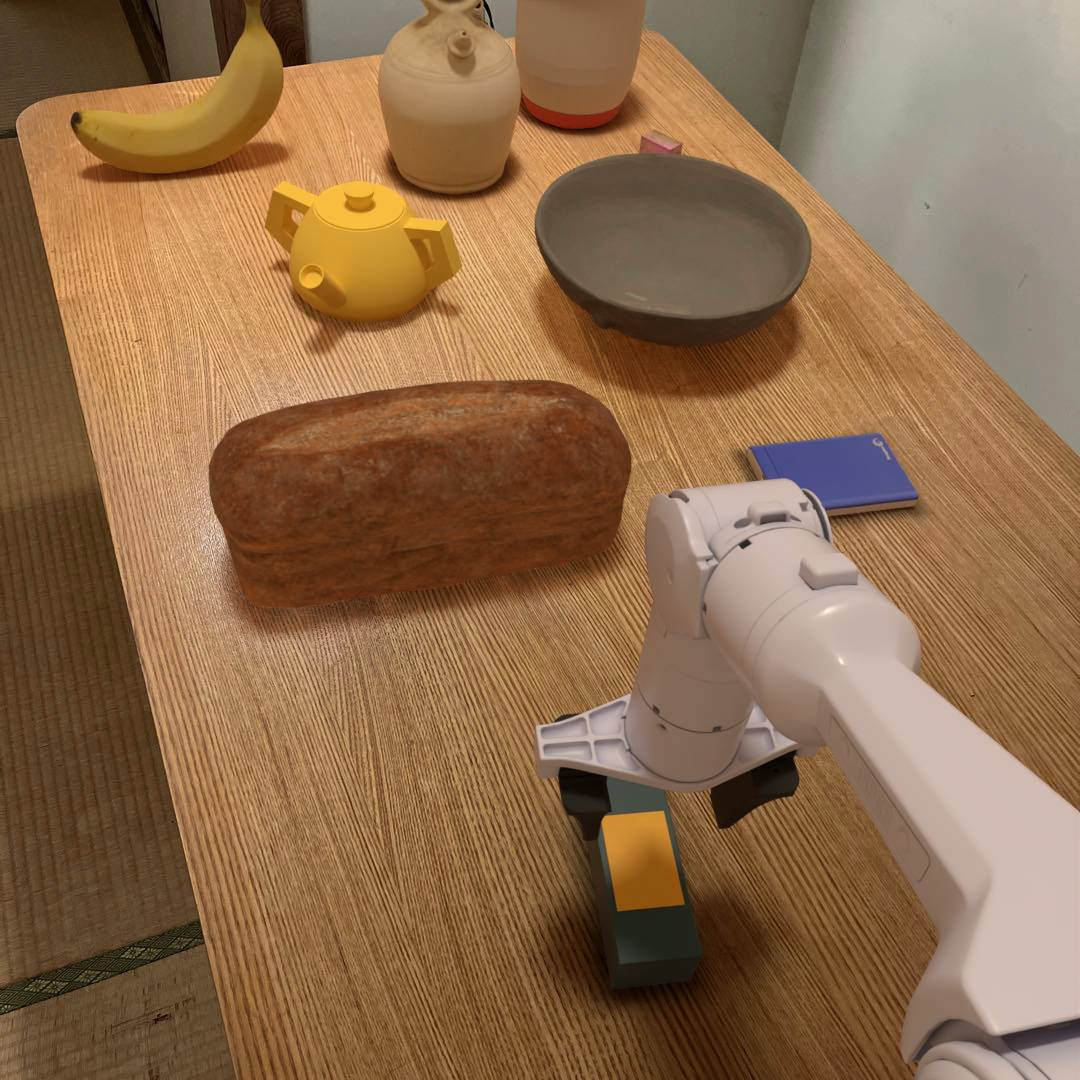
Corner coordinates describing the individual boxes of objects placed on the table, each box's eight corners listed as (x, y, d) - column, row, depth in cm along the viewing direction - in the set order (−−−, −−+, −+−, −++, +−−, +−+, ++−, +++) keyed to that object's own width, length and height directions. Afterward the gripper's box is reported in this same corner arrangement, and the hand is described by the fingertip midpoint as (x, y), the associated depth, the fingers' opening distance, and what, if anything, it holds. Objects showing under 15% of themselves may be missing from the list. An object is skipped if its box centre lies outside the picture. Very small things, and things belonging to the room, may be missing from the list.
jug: (391, 129, 129) (382, -102, 110) (519, 140, 129) (533, -88, 111) (372, 197, 119) (360, -46, 100) (512, 208, 119) (525, -31, 101)
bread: (220, 515, 86) (192, 384, 76) (588, 462, 93) (606, 336, 83) (234, 634, 78) (204, 506, 68) (633, 567, 85) (659, 441, 75)
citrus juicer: (574, 65, 144) (590, -100, 129) (658, 121, 135) (684, -50, 120) (477, 91, 137) (482, -81, 122) (558, 151, 128) (574, -26, 113)
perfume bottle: (603, 182, 124) (607, 145, 121) (666, 148, 131) (672, 112, 127) (685, 225, 119) (692, 188, 116) (747, 187, 126) (755, 151, 122)
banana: (86, 190, 116) (34, -4, 101) (82, 163, 119) (32, -28, 104) (296, 167, 122) (277, -18, 107) (287, 142, 125) (267, -41, 111)
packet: (690, 981, 64) (703, 954, 61) (611, 989, 63) (620, 963, 60) (650, 798, 72) (660, 767, 69) (579, 804, 71) (586, 773, 68)
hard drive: (879, 430, 96) (749, 443, 94) (920, 495, 91) (783, 511, 88) (874, 443, 97) (746, 457, 95) (914, 508, 92) (779, 524, 90)
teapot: (219, 327, 102) (199, 224, 93) (304, 229, 114) (293, 130, 105) (417, 378, 99) (415, 276, 91) (482, 272, 111) (486, 173, 102)
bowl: (817, 283, 114) (844, 197, 106) (743, 431, 97) (768, 342, 90) (590, 213, 120) (600, 127, 112) (483, 340, 103) (486, 250, 96)
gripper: (818, 605, 54) (759, 746, 64) (533, 622, 52) (518, 765, 62) (864, 725, 49) (792, 857, 60) (553, 749, 47) (533, 881, 58)
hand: (654, 818), depth 61 cm, fingers open, 7 cm apart
